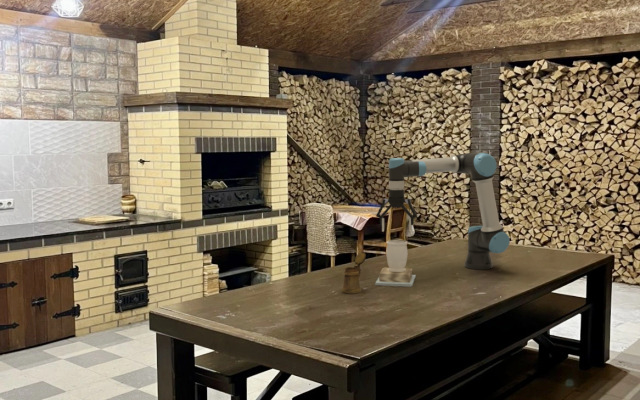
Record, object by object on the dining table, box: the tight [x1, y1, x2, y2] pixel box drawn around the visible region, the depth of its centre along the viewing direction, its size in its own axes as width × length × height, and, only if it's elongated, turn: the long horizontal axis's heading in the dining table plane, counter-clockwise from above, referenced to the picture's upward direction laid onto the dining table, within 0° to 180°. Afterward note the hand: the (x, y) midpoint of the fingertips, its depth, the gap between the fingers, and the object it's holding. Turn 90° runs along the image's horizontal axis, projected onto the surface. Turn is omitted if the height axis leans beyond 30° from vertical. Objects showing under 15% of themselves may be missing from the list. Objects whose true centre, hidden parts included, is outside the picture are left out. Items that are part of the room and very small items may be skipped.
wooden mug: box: [341, 251, 367, 294], centre depth 317 cm, size 9×14×18 cm, turn 135°
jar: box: [385, 239, 409, 272], centre depth 336 cm, size 11×10×15 cm
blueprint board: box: [374, 274, 417, 288], centre depth 338 cm, size 18×22×1 cm
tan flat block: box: [378, 267, 413, 283], centre depth 337 cm, size 15×15×4 cm
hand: (396, 231), depth 335 cm, fingers open, 13 cm apart
